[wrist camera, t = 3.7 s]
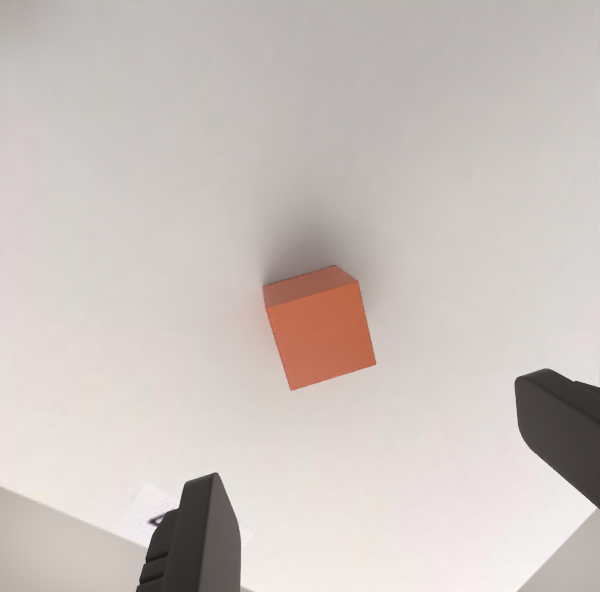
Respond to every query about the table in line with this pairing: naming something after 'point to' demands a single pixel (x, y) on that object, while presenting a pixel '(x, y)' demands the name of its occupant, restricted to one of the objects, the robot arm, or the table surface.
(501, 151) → the table surface
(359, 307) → the block
